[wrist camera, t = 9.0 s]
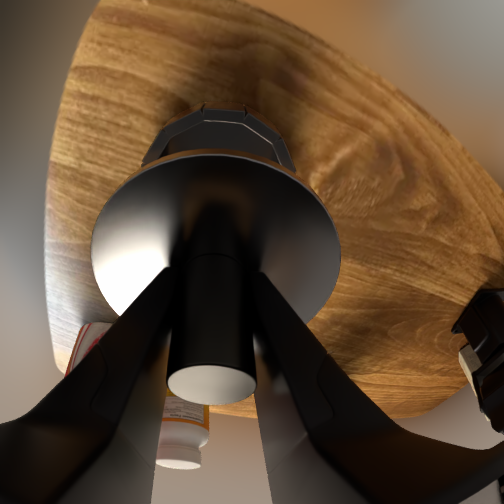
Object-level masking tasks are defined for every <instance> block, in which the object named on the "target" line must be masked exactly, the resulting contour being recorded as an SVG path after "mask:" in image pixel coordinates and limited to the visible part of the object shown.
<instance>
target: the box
mask: <svg viewBox="0 0 504 504" xmlns="http://www.w3.org/2000/svg"><path fill="white" fill-rule="evenodd" d="M459 363H460V365H461V367H462V369H463V370H464V372H465V374H466V376H467V378H468V380H469V382H470V384H471V386H472V388H473V390H474V393H475V395H476V392H475V388H474V385H473V382H472V380H473V379H472V376H471V373H472V372H473V371H476V370H477V369H478V368H479V367H480V366H482V365H483V364H482V365H481V363H480V361H479V359H478V357H477V355H476V353H475V352H474V351H473V350H472V348H471V346H470V344H469V345H467V346H466V347H465V348H463V349H462V350H460V351H459ZM476 397H477V395H476ZM477 399H478V398H477ZM485 417H486V415H485ZM486 419H487V421H490V420H489V419H488V418H487V417H486Z"/></svg>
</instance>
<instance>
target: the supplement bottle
mask: <svg viewBox="0 0 504 504" xmlns="http://www.w3.org/2000/svg"><path fill="white" fill-rule="evenodd" d="M208 440H209V405H205V404H198V403H193V402H190V401H187V400H184V399H182V398H180V397H178V396H176V395H174V394H173V393H172V392H171V391H170V390H169V389H168V388H167V394H166V399H165V405H164V411H163V417H162V423H161V430H160V436H159V443H158V450H157V457H156V464H158V465H161V466H164V467H169V468H175V469H195V468H199V467H200V466H201V452H200V451H199V450H198V448H199V447H202V446H204V445H205V444H206V443H207V442H208Z"/></svg>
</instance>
